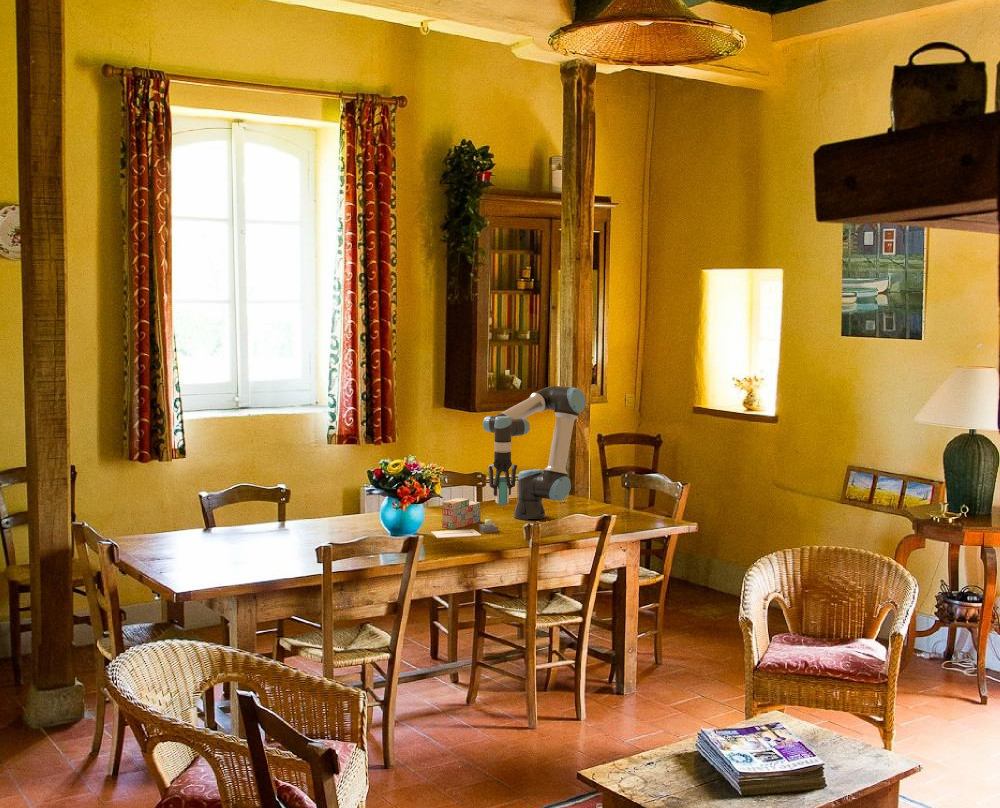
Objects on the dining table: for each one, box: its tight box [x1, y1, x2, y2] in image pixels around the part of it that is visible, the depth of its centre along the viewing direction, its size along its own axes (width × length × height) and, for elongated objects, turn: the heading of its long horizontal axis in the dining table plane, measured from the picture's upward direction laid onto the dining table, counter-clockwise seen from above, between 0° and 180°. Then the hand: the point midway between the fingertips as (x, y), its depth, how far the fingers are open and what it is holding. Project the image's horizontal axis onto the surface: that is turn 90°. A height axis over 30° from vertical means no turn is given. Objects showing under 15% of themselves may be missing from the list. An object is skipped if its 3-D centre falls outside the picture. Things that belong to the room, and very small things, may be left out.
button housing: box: [478, 523, 499, 534], centre depth 503 cm, size 7×7×2 cm
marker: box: [497, 476, 508, 506], centre depth 496 cm, size 4×4×12 cm
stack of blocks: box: [441, 497, 482, 530], centre depth 516 cm, size 21×6×12 cm, turn 144°
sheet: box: [430, 528, 482, 539], centre depth 496 cm, size 20×12×1 cm, turn 107°
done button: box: [484, 518, 493, 527], centre depth 503 cm, size 3×3×4 cm
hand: (502, 502), depth 497 cm, fingers closed on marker, 4 cm apart
